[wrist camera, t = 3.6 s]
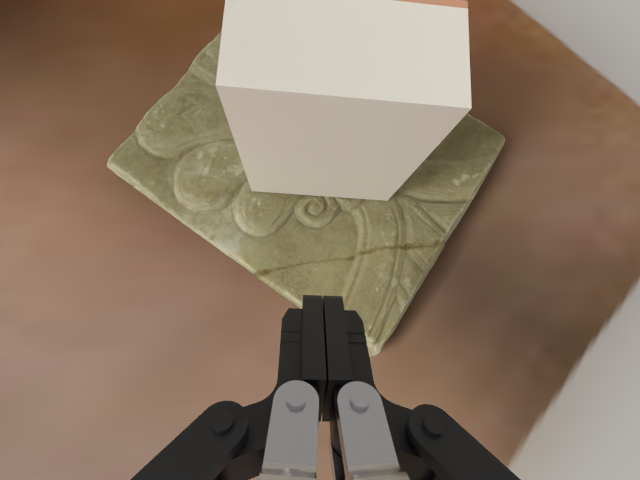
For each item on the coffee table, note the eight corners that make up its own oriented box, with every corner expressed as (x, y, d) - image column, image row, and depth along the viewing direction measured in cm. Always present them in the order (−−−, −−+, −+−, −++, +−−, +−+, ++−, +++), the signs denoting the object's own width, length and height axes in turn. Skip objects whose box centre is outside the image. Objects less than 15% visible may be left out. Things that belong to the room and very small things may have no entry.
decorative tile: (367, 357, 23) (380, 366, 19) (120, 179, 24) (90, 156, 20) (504, 141, 26) (537, 116, 23) (286, -6, 27) (285, -52, 24)
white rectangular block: (251, 191, 20) (215, 85, 11) (257, 127, 21) (228, -26, 11) (387, 200, 21) (471, 108, 11) (388, 138, 22) (467, 0, 12)
